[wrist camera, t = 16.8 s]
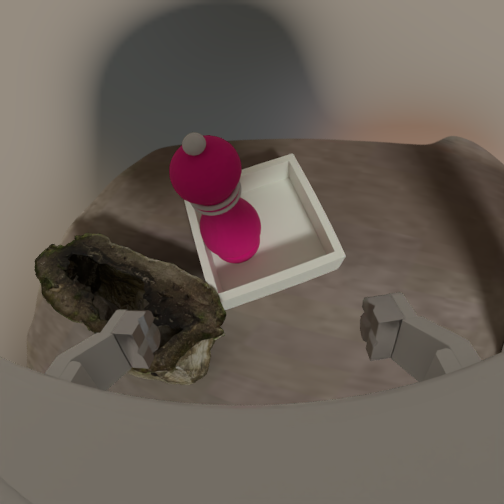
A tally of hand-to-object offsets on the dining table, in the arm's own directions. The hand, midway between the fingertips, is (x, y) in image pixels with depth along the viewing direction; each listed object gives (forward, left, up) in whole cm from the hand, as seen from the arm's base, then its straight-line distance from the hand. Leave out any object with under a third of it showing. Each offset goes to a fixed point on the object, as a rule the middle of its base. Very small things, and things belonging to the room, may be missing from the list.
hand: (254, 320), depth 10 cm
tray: (-3, -14, -24) cm, 28 cm away
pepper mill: (0, -14, -23) cm, 27 cm away
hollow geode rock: (+16, -10, -24) cm, 31 cm away
